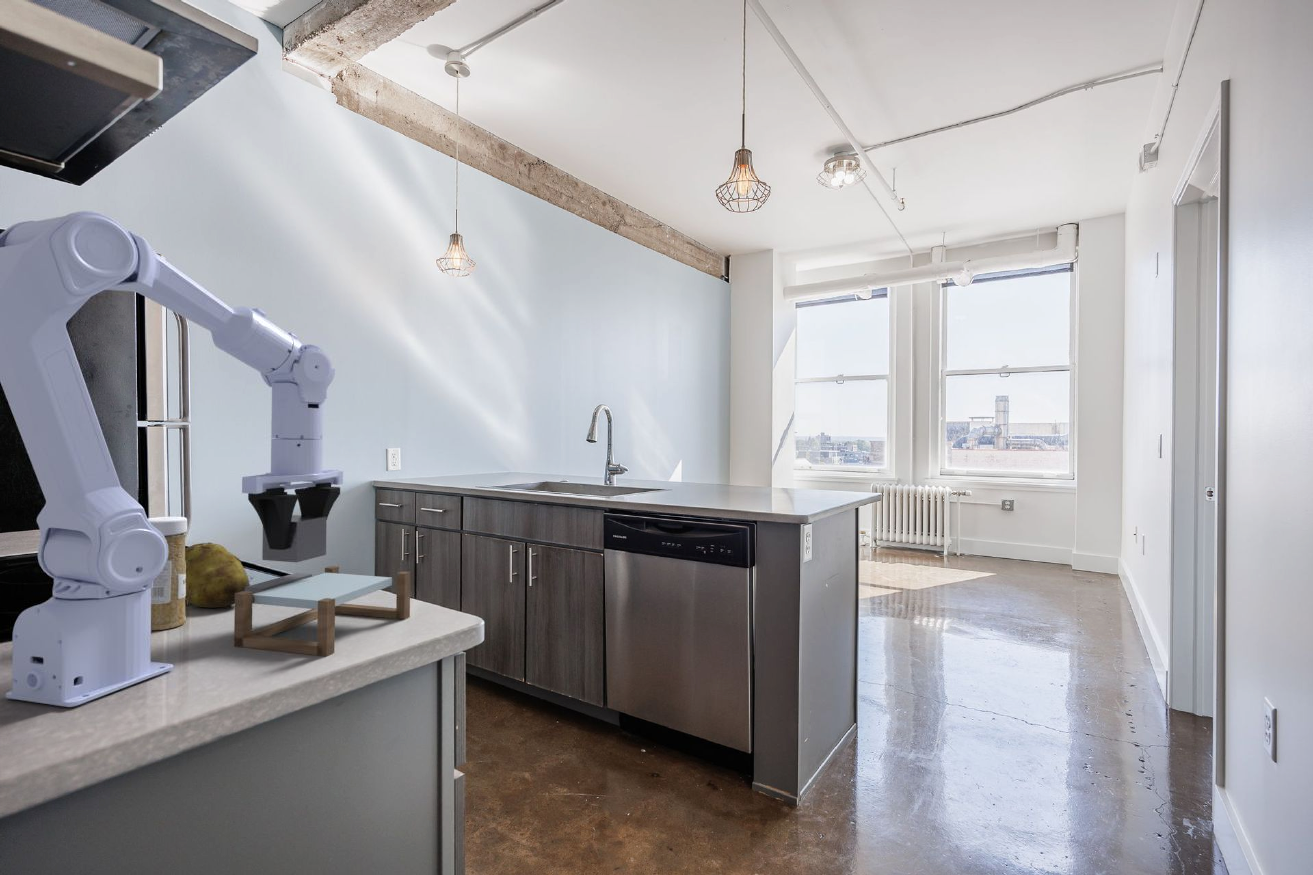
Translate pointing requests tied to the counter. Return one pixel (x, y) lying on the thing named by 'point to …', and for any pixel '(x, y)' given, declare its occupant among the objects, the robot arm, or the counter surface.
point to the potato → (213, 576)
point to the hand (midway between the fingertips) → (295, 545)
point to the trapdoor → (315, 589)
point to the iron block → (300, 540)
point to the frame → (323, 613)
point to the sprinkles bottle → (170, 576)
